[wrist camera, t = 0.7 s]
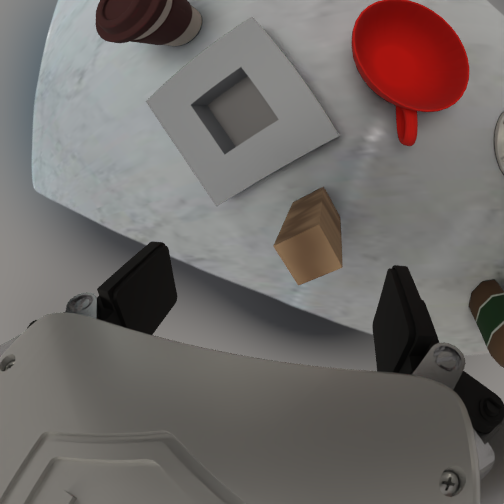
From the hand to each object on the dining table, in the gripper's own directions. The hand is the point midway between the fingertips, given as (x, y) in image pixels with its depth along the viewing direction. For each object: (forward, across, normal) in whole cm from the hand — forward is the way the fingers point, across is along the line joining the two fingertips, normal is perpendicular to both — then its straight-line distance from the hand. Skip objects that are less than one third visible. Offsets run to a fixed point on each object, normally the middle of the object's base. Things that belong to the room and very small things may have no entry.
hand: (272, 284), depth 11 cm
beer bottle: (+28, -35, +18) cm, 48 cm away
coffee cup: (+29, +18, -22) cm, 41 cm away
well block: (+29, +9, -7) cm, 31 cm away
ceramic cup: (+28, -11, -13) cm, 33 cm away
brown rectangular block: (+29, -1, +6) cm, 29 cm away
